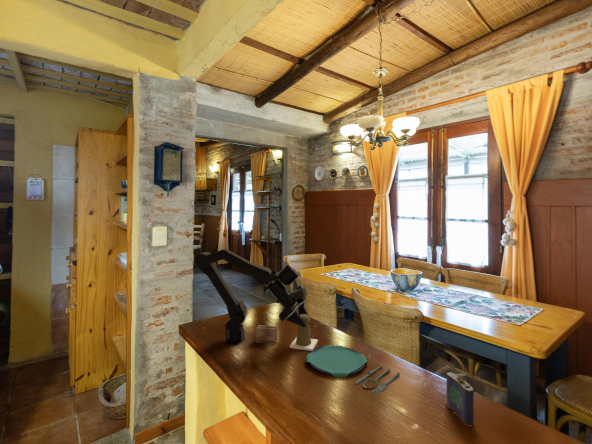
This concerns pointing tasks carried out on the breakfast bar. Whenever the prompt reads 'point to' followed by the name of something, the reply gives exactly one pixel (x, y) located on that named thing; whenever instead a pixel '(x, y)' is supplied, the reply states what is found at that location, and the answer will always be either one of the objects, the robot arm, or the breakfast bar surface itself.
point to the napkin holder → (266, 334)
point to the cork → (304, 332)
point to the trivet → (309, 347)
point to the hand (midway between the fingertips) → (307, 323)
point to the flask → (460, 397)
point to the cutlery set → (343, 364)
